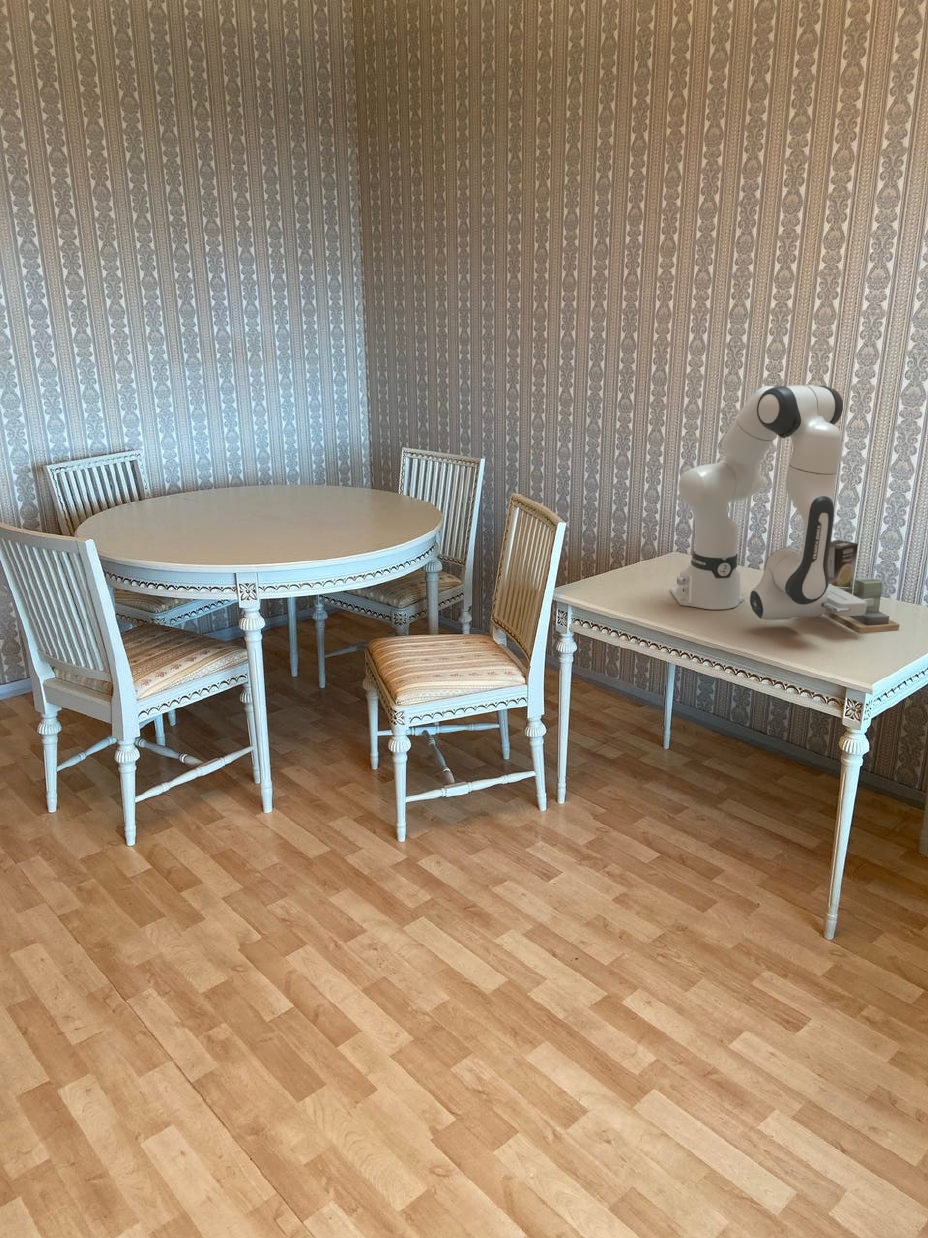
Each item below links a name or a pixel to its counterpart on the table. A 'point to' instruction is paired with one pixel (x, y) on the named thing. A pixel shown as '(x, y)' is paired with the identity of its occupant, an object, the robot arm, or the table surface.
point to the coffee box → (842, 563)
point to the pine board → (860, 626)
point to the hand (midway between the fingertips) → (861, 596)
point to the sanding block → (872, 590)
